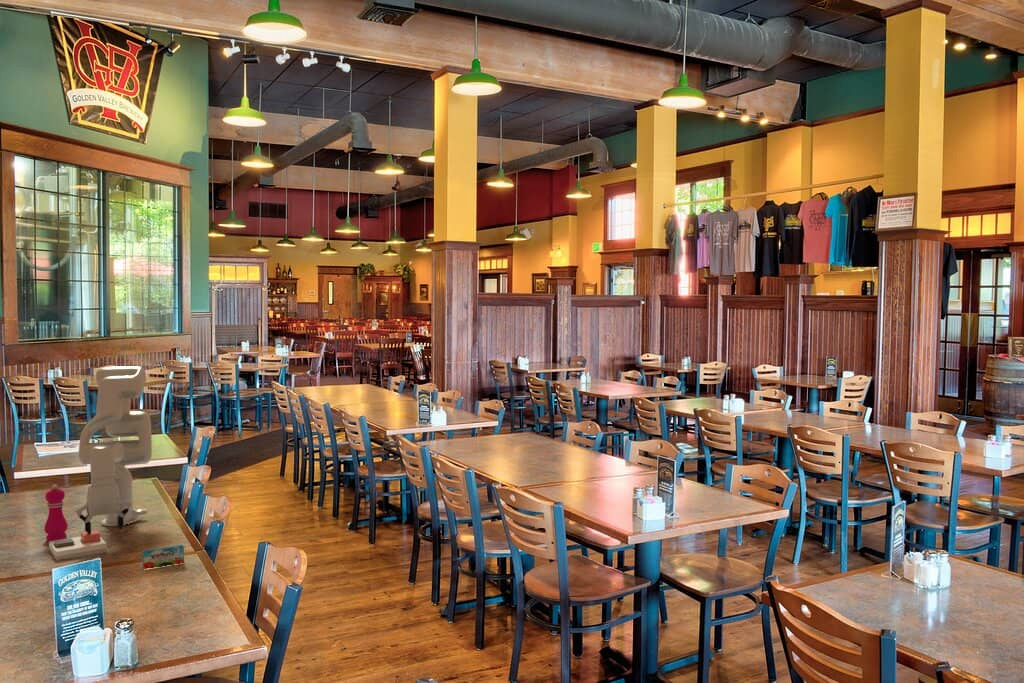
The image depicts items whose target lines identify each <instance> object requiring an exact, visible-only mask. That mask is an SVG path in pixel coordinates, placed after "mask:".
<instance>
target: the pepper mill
mask: <svg viewBox="0 0 1024 683" xmlns="http://www.w3.org/2000/svg"><path fill="white" fill-rule="evenodd" d="M51 488H52V489H49V490H47V492H46V494H45V497H44V498H45V501H47V508H48V516H47V519H46V521H45V523H44V524H45V525H44V533H46V534H47V535H46V537H45V538H46V542H47V541H48V542H47V543H49V541H55V540H62V539H67V533H66V531H68V529H69V528H68V527H69V525H68V522H67V520H66V518H65V516H64V513H63V506H64V501H63V500H64V499H65V496H66V494H65V491H64V490H63V489H61V488H58V484H56V483H55V484H52V486H51Z"/></svg>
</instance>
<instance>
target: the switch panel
mask: <svg viewBox="0 0 1024 683" xmlns="http://www.w3.org/2000/svg"><path fill="white" fill-rule="evenodd" d="M69 538H71V539H72V540H73V541H74V545H73V546H67V547H61V548H55V542H54V541H49V542H48V550H50V551H49V552H50V553H52V554H51V555H52V557H53V556H54V557H53V558H54V560H55V559H56V560H58V561H62V560H61V559H64V560H69V559H68V558H70V559H75V558H81V557H87V556H91V555H97V554H103V553H107V552H108V550H107V548H108V545H107V542H106V541H105V540H104V539H103V537H101V536H100V540H99V541H93V542H87V543H83V541H82V540H81V535H80V536H75V537H69ZM69 538H67V539H69ZM62 540H63V539H62ZM55 541H57V540H55ZM56 560H55V561H56Z"/></svg>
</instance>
